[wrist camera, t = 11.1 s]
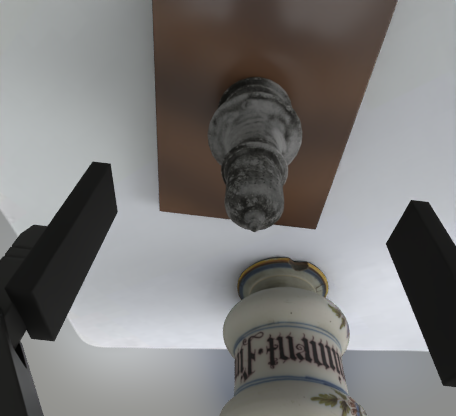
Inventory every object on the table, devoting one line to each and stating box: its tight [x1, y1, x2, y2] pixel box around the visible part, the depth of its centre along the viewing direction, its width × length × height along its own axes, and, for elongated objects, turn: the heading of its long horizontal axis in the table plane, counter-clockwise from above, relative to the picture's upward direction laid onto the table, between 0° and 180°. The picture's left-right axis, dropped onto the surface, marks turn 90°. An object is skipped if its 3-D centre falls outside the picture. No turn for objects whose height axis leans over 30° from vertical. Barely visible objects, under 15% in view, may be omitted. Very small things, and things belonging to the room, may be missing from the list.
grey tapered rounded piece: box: [208, 77, 302, 232], centre depth 19 cm, size 6×6×12 cm
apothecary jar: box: [220, 258, 368, 416], centre depth 30 cm, size 12×12×18 cm
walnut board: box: [152, 0, 398, 229], centre depth 24 cm, size 20×14×1 cm
